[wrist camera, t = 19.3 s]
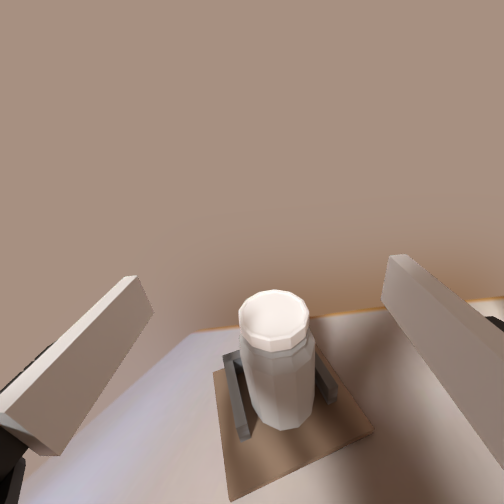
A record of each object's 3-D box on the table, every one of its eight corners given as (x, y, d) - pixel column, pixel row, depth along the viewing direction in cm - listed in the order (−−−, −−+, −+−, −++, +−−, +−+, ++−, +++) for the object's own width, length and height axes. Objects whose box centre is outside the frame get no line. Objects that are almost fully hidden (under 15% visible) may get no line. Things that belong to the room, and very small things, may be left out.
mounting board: (311, 341, 42) (311, 322, 40) (373, 432, 28) (378, 412, 26) (214, 376, 38) (207, 358, 36) (230, 502, 25) (222, 485, 22)
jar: (311, 369, 36) (311, 285, 28) (318, 439, 28) (320, 348, 19) (256, 365, 38) (241, 285, 30) (246, 429, 30) (221, 343, 21)
